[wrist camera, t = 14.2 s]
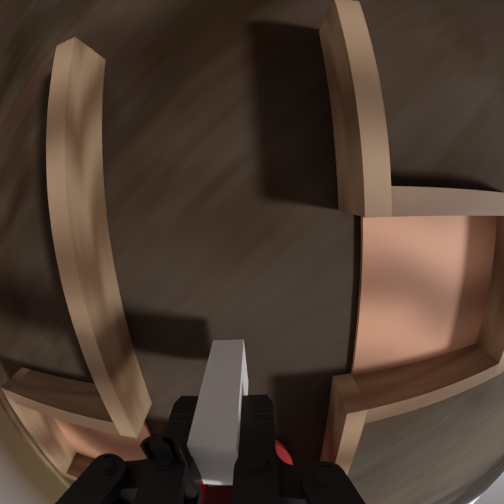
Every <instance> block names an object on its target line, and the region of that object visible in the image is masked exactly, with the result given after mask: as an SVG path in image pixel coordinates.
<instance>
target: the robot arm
mask: <svg viewBox="0 0 504 504" xmlns="http://www.w3.org/2000/svg"><path fill="white" fill-rule="evenodd" d="M140 447H141V449H142V450H143V452H144V454H145V456H146V457H147V458H146V459H142V460H133V461H124V460H123V459H122V458H121V457H120V456H118V455H116V454H112V453H106V454H102V455H99V456H98V457H97V458H95V459H94V460H93V461H92V463H91V464H90V465H89V466H88V467H87V468H86V469H85V471H84V472H83V473H82V474H81V475H80V476H79V477H78V479H77V480H76V481H75V482H74V483H73V484H72V485H71V486H70V488H69V489H68V490H67V491H66V492H65V493H64V494H63V496H62V497H61V498H60V499H59V500H58V501H57V502H56V503H55V504H201V499H202V492H201V490H200V482H201V479H202V481H203V483H204V484H214V485H232V498H231V504H365V502H364V501H363V499H362V498H361V496H360V495H359V493H358V492H357V490H356V489H355V487H354V486H353V484H352V482H351V481H350V479H349V478H348V476H347V475H346V473H345V471H344V470H343V469H342V468H341V467H340V466H339V465H337V464H335V463H333V462H326V461H322V462H316V463H314V464H312V465H310V466H308V467H301V466H295V465H291V464H288V463H286V462H284V461H283V460H282V459H280V458H279V456H278V455H277V452H276V444H275V429H274V415H273V402H272V401H271V400H270V398H269V397H268V395H267V394H266V395H248V375H247V366H246V357H245V347H244V339H241V340H213V343H212V347H211V350H210V354H209V358H208V362H207V366H206V370H205V374H204V378H203V382H202V386H201V390H200V394H199V396H181V397H180V398H179V399H178V400H177V401H176V402H175V403H174V406H173V409H172V411H171V414H170V417H169V421H168V423H167V426H166V429H165V432H164V434H154V435H151V436H148V437H147V438H146V439H144V440H143V441H142V443H141V444H140Z"/></svg>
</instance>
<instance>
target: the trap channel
mask: <svg viewBox="0 0 504 504" xmlns="http://www.w3.org/2000/svg"><path fill="white" fill-rule="evenodd" d="M319 36H320V41H321V46H322V52H323V57H324V63H325V69H326V76H327V82H328V89H329V97H330V105H331V113H332V122H333V132H334V142H335V154H336V168H337V185H338V209H339V210H341V211H344V212H347V213H351V214H354V215H358V216H361V257H360V283H359V300H358V313H357V325H356V335H355V344H354V352H353V360H352V368H351V373H349V374H342V375H336V376H332V385H331V394H330V402H329V409H328V416H327V423H326V429H325V436H324V441H323V447H322V453H321V458H320V462H322V461H326V462H333V463H335V464H337V465H339V466H340V467H341V468H342V469H343V470H344V471H345V473H346V475H347V474H348V472H349V469H350V466H351V463H352V460H353V458H354V455H355V452H356V449H357V445H358V442H359V439H360V436H361V432H362V429H363V426H364V423H368V422H373V421H377V420H381V419H385V418H388V417H392V416H396V415H399V414H402V413H406V412H409V411H412V410H415V409H418V408H421V407H424V406H427V405H430V404H433V403H436V402H438V401H441V400H444V399H446V398H449V397H451V396H454V395H456V394H459V393H461V392H463V391H465V390H468V389H470V388H472V387H474V386H477V385H479V384H481V383H483V382H485V381H487V380H489V379H491V378H493V377H495V376H497V375H499V374H500V373H502V372H503V370H504V192H494V191H484V190H472V189H458V188H442V187H420V186H391V171H390V156H389V145H388V135H387V126H386V118H385V111H384V104H383V98H382V92H381V86H380V80H379V75H378V70H377V65H376V61H375V56H374V52H373V48H372V44H371V40H370V36H369V32H368V29H367V25H366V22H365V18H364V15H363V12H362V9H361V6H360V3H359V2H358V1H352V0H333V1H332V4H331V6H330V8H329V10H328V12H327V15H326V17H325V19H324V21H323V24H322V26H321V28H320V30H319ZM104 71H105V59H104V58H102V57H101V56H100V55H99V54H97V53H96V52H95V51H93V50H92V49H91V48H89V47H88V46H87V45H85V44H84V43H83V42H81V41H80V40H78V39H77V38H76V37H74V38H72V39H70V40H68V41H66V42H64V43H62V44H60V45H58V46H57V48H56V53H55V58H54V63H53V69H52V76H51V83H50V91H49V100H48V112H47V130H46V172H47V190H48V203H49V213H50V221H51V229H52V236H53V242H54V248H55V254H56V259H57V264H58V269H59V274H60V278H61V282H62V287H63V291H64V295H65V299H66V302H67V306H68V310H69V313H70V316H71V320H72V323H73V326H74V329H75V332H76V335H77V338H78V341H79V344H80V347H81V350H82V353H83V355H84V358H85V361H86V363H87V366H88V368H89V371H90V373H91V376H92V378H93V380H94V383H95V384H93V383H88V382H82V381H77V380H72V379H67V378H63V377H58V376H54V375H50V374H46V373H42V372H38V371H34V370H31V369H27V368H24V367H22V368H21V369H20V370H19V371H18V372H17V373H16V374H14V375H13V376H12V377H11V378H10V379H9V380H8V381H7V382H6V383H5V384H4V385H3V386H2V387H1V388H2V390H3V392H4V394H5V395H6V397H7V399H8V401H9V402H10V404H11V406H12V407H13V409H14V411H15V412H16V414H17V415H18V417H19V419H20V420H21V422H22V423H23V425H24V426H25V428H26V429H27V431H28V432H29V433H30V435H31V436H32V438H33V439H34V440H35V442H36V443H37V444H38V446H39V447H40V448H41V450H42V451H43V452H44V453H45V455H46V456H47V457H48V458H49V460H50V461H51V462H52V463H53V464H54V466H55V467H56V468H57V469H58V470H59V471H60V473H61V474H62V475H63V476H65V477H67V478H70V479H72V480H75V481H76V480H77V479H78V477H79V476H80V475H81V474H82V473H83V472H84V471H85V469H86V468H87V467H88V466H89V465H90V464H91V463H92V461H93V460H94V459H95V458H97V457H98V456H99V455H102V454H106V453H112V454H116V455H118V456H120V457H121V458H122V459H123V460H124V461H133V460H142V459H146V458H147V457H146V456H145V454H144V452H143V450H142V449H141V447H140V444H141V443H142V441H143V440H144V439H146V438H147V437H148V436H151V433H150V430H149V428H148V426H147V424H146V422H145V418H146V416H147V414H148V411H149V409H150V407H151V404H152V402H151V399H150V396H149V393H148V391H147V388H146V385H145V382H144V379H143V376H142V373H141V370H140V367H139V364H138V361H137V357H136V354H135V351H134V347H133V344H132V340H131V337H130V333H129V329H128V326H127V322H126V318H125V314H124V310H123V305H122V301H121V297H120V292H119V287H118V282H117V277H116V272H115V267H114V261H113V255H112V249H111V243H110V236H109V228H108V221H107V212H106V202H105V191H104V178H103V159H102V101H103V83H104Z"/></svg>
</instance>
